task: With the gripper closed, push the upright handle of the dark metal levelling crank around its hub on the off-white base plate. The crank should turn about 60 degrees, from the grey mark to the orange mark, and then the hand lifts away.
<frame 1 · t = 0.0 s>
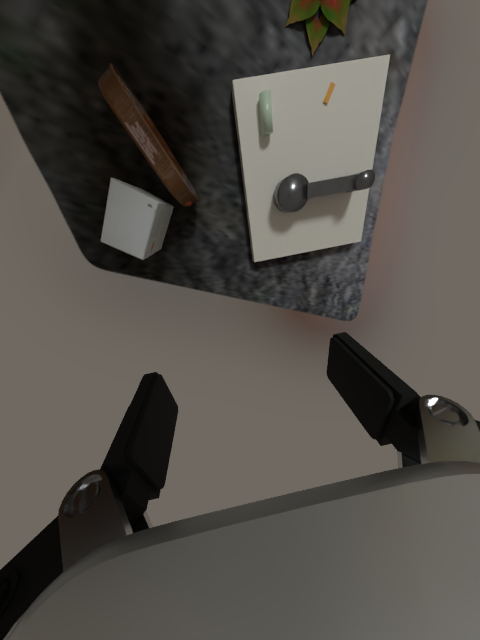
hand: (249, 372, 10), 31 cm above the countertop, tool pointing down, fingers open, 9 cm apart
knob: (321, 188, 30), point 4 cm above the countertop, hinge at 0.0°
tin: (163, 158, 29), on the countertop
small box: (152, 221, 33), on the countertop
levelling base: (304, 179, 32), on the countertop
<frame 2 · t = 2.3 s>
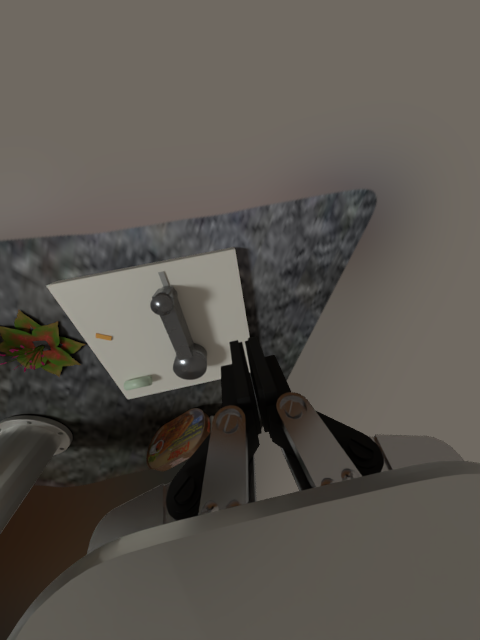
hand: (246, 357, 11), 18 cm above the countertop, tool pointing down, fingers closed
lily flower: (45, 343, 29), on the countertop
knob: (180, 338, 26), point 4 cm above the countertop, hinge at 0.0°
tin: (182, 418, 42), on the countertop
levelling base: (174, 330, 30), on the countertop
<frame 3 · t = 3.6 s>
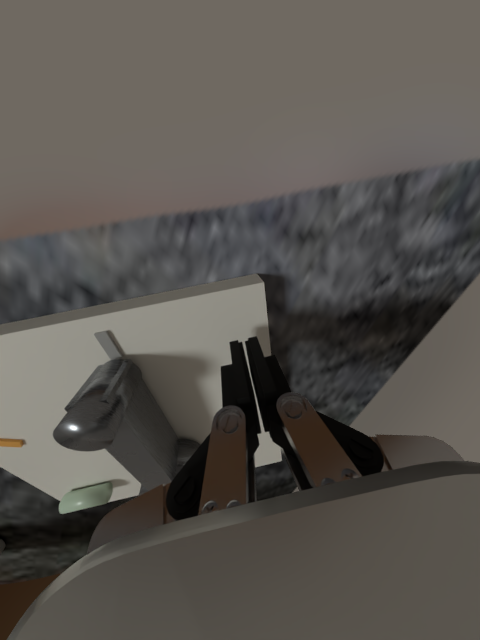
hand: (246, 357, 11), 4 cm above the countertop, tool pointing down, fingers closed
knob: (151, 453, 13), point 4 cm above the countertop, hinge at 0.0°
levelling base: (147, 411, 17), on the countertop
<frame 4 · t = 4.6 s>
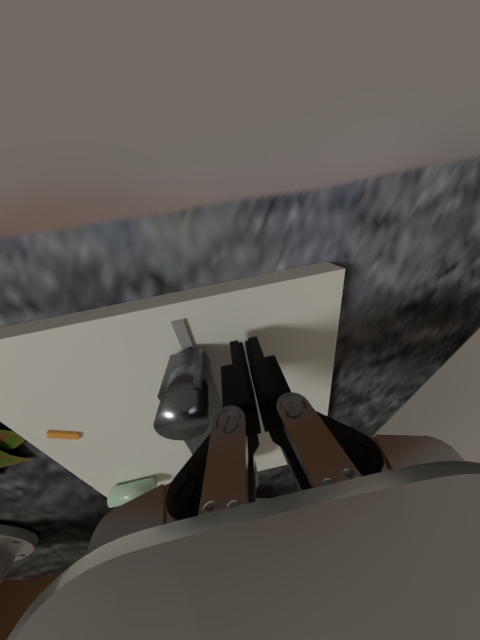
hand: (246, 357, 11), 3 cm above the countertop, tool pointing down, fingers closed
knob: (214, 445, 13), point 4 cm above the countertop, hinge at 0.2°, touching gripper
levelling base: (195, 404, 17), on the countertop
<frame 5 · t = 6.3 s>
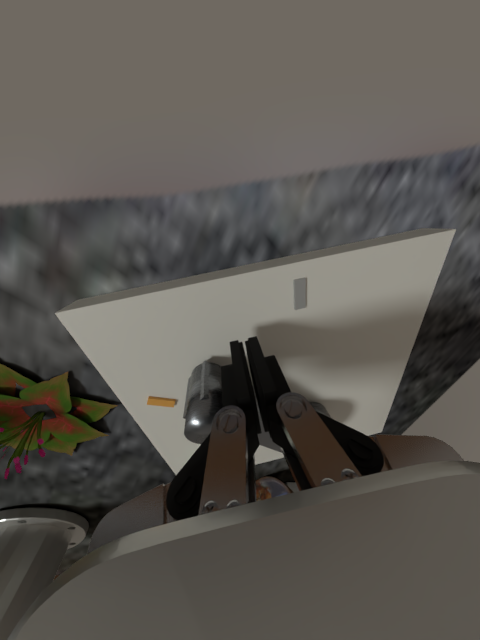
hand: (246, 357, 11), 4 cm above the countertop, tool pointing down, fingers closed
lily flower: (46, 406, 16), on the countertop
knob: (274, 426, 14), point 4 cm above the countertop, hinge at 39.9°, touching gripper
tin: (246, 488, 29), on the countertop
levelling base: (271, 377, 18), on the countertop
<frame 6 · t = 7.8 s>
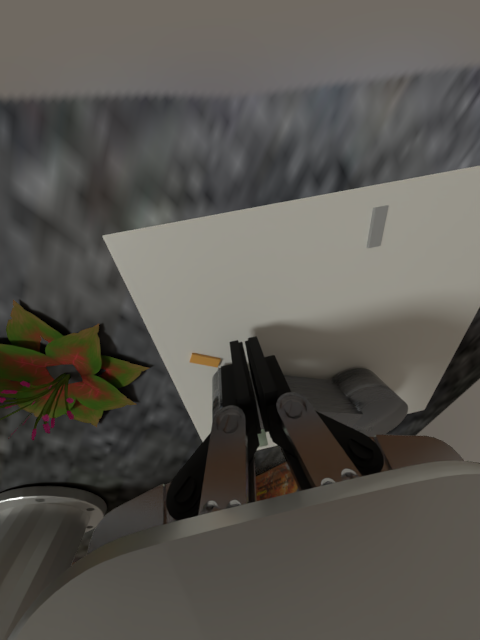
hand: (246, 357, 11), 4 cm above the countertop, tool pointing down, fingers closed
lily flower: (71, 369, 15), on the countertop
knob: (313, 407, 13), point 4 cm above the countertop, hinge at 65.1°, touching gripper
tin: (270, 472, 27), on the countertop
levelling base: (316, 343, 16), on the countertop
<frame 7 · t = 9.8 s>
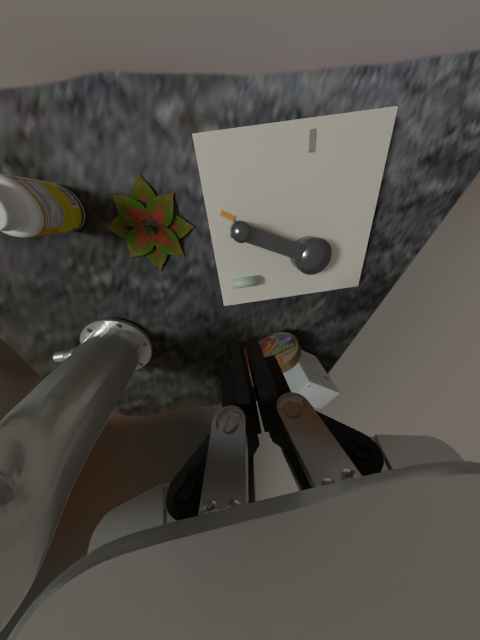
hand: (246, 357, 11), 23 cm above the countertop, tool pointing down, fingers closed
supplement bottle: (65, 208, 25), on the countertop
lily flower: (152, 227, 27), on the countertop
knob: (281, 245, 25), point 4 cm above the countertop, hinge at 65.2°
tin: (259, 345, 40), on the countertop
small box: (295, 357, 43), on the countertop
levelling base: (288, 225, 28), on the countertop
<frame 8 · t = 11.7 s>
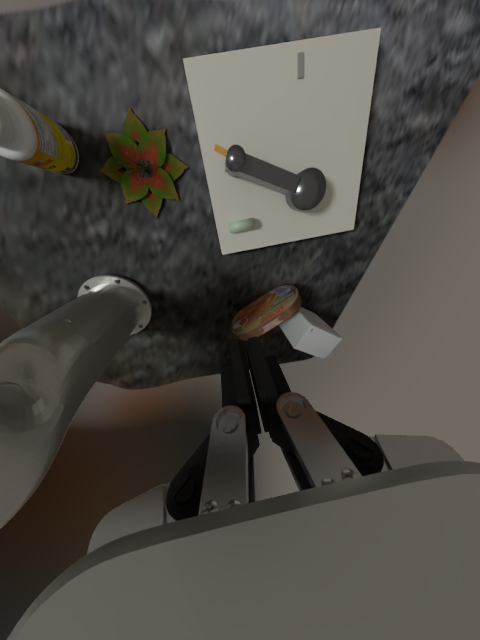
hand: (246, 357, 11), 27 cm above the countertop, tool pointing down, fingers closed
supplement bottle: (58, 150, 25), on the countertop
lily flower: (146, 170, 27), on the countertop
knob: (276, 178, 26), point 4 cm above the countertop, hinge at 65.2°
tin: (259, 304, 40), on the countertop
small box: (295, 316, 43), on the countertop
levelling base: (282, 166, 29), on the countertop
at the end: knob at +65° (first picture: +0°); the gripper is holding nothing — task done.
